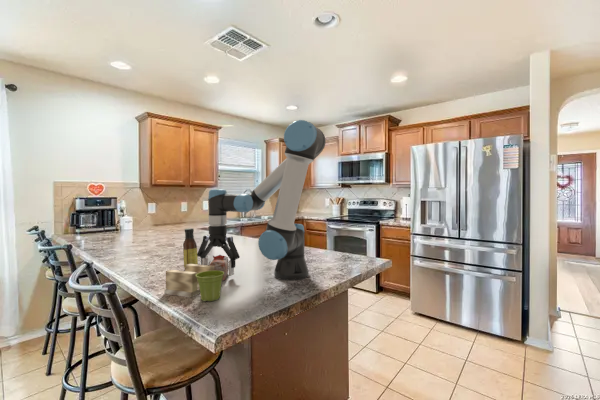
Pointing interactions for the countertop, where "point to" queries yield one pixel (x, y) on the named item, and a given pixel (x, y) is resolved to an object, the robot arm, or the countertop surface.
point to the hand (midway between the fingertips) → (218, 273)
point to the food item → (220, 264)
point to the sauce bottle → (190, 248)
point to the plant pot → (210, 284)
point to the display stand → (185, 280)
